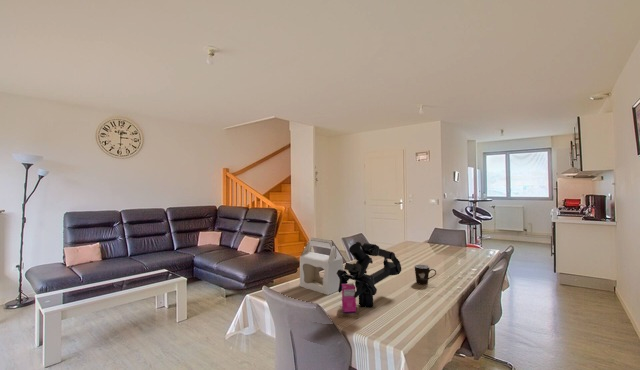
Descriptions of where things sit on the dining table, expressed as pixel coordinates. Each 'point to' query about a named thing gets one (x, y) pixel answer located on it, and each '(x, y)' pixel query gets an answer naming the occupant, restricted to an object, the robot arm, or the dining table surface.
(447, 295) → the dining table surface
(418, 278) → the coffee mug
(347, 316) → the walnut riser
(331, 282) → the gable box
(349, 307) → the supplement box
